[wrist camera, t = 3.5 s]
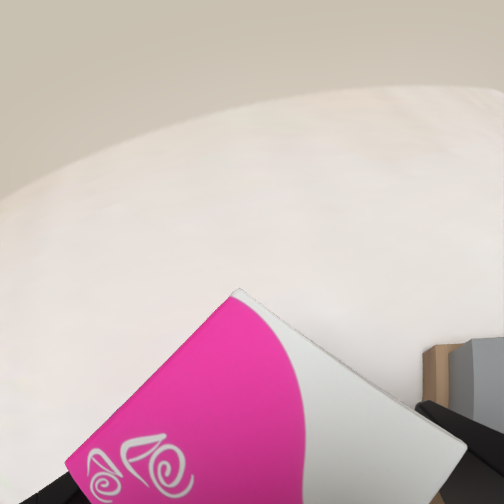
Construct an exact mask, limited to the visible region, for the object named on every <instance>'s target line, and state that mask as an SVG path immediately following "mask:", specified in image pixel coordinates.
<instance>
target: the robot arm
mask: <svg viewBox="0 0 504 504" xmlns="http://www.w3.org/2000/svg"><path fill="white" fill-rule="evenodd" d="M414 411H416V412H418V413H419V414H421V415H422V416H424V417H425V418H427V419H428V420H430V421H432V422H433V423H435V424H436V425H438V426H440V427H441V428H443V429H444V430H446V431H447V432H449V433H450V434H452V435H453V436H455V437H456V438H458V439H460V440H462V441H463V442H464V443H465V444H466V445H467V450H466V452H465V453H464V455H463V456H462V458H461V459H460V461H459V462H458V464H457V465H456V467H455V468H454V470H453V471H452V473H451V474H450V476H449V477H448V479H447V480H446V482H445V483H444V484H443V486H442V487H441V488H440V489H439V493H440V495H441V497H442V499H443V502H444V504H504V433H501V432H499V431H497V430H494V429H492V428H490V427H488V426H485V425H483V424H481V423H479V422H476V421H474V420H472V419H470V418H467V417H465V416H463V415H461V414H459V413H457V412H455V411H452V410H450V409H448V408H446V407H444V406H442V405H440V404H438V403H436V402H433V401H431V400H424V401H422V402H419V403H417V404H416V406H415V410H414ZM19 504H92V503H91V502H90V501H89V499H88V498H87V497H86V495H85V494H84V493H83V492H82V490H81V489H80V487H79V486H78V484H77V483H76V482H75V480H74V479H73V477H72V475H71V474H70V472H69V471H68V472H66V473H65V474H64V475H62V476H61V477H59V478H58V479H56V480H55V481H53V482H52V483H51V484H49V485H48V486H46V487H45V488H43V489H42V490H40V491H39V492H38V493H35V494H34V495H32V496H31V497H29V498H28V499H26V500H24V501H23V502H21V503H19Z"/></svg>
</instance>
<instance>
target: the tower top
mask: <svg viewBox="0 0 504 504" xmlns="http://www.w3.org/2000/svg"><path fill="white" fill-rule="evenodd" d="M449 409H450V410H452V411H455V412H457V413H459V414H461V415H463V416H465V417H467V418H470V419H472V420H474V421H476V422H479V423H481V424H483V425H485V426H488V427H490V428H492V429H494V430H497V431H499V432H501V433H504V337H497V338H481V339H471V340H469V341H468V342H466V343H465V344H463V345H462V346H460V347H459V348H457V349H456V350H454V351H452V352H451V353H449Z"/></svg>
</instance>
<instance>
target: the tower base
mask: <svg viewBox="0 0 504 504" xmlns="http://www.w3.org/2000/svg"><path fill="white" fill-rule="evenodd" d="M462 345H463V344H447V345H435V346H433V347H432V348H430V349H429V350H428V351H426V352H425V353H423V398H422V401H424V400H431V401H433V402H436V403H438V404H440V405H442V406H444V407H446V408H448V409H449V353H451V352H452V351H454V350H456V349H457V348H459V347H460V346H462ZM429 504H444V502H443V499H442V497H441V495H440V493H439V491H438V492H437V493H436V495H435V496H434V498H433V499H432V500H431V502H430V503H429Z"/></svg>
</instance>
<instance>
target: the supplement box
mask: <svg viewBox="0 0 504 504" xmlns="http://www.w3.org/2000/svg"><path fill="white" fill-rule="evenodd" d="M466 450H467V445H466V444H465V443H464V442H463V441H462V440H460V439H458V438H456V437H455V436H453V435H452V434H450V433H449V432H447V431H446V430H444V429H443V428H441V427H440V426H438V425H436V424H435V423H433V422H432V421H430V420H428V419H427V418H425V417H424V416H422V415H421V414H419V413H418V412H416V411H414V410H413V409H411V408H410V407H408V406H407V405H405V404H404V403H402V402H401V401H399V400H398V399H396V398H395V397H393V396H392V395H390V394H389V393H387V392H385V391H384V390H382V389H381V388H379V387H378V386H376V385H375V384H373V383H372V382H370V381H369V380H367V379H366V378H364V377H363V376H361V375H360V374H359V373H357V372H356V371H354V370H353V369H351V368H350V367H348V366H347V365H346V364H344V363H343V362H341V361H340V360H338V359H337V358H335V357H334V356H333V355H331V354H330V353H328V352H327V351H325V350H324V349H322V348H321V347H320V346H318V345H317V344H315V343H314V342H312V341H311V340H309V339H308V338H307V337H305V336H304V335H302V334H301V333H300V332H298V331H297V330H295V329H294V328H292V327H291V326H290V325H288V324H287V323H286V322H284V321H283V320H282V319H280V318H279V317H278V316H276V315H275V314H274V313H272V312H271V311H270V310H269V309H267V308H266V307H265V306H263V305H262V304H261V303H259V302H258V301H256V300H255V299H254V298H252V297H251V296H250V295H249V294H248V293H247V292H245V291H244V290H243V289H240V288H239V289H237V290H235V291H234V292H233V293H232V294H231V295H230V296H229V297H228V299H227V300H226V301H225V302H224V303H222V304H221V305H220V306H219V307H218V308H217V309H216V310H215V311H214V312H213V313H212V314H211V315H210V316H209V318H208V319H207V320H206V321H205V322H204V323H203V324H202V325H201V326H200V327H199V328H198V329H197V330H196V331H195V332H194V333H193V334H192V335H191V336H190V337H189V338H188V339H187V340H186V341H185V342H184V343H183V344H182V345H181V346H180V347H179V348H178V349H177V350H176V351H175V353H174V354H173V355H172V356H171V357H170V358H169V359H168V360H167V361H166V362H165V363H164V364H163V365H162V366H161V367H160V368H159V369H158V370H157V371H156V372H155V373H154V374H153V375H152V376H151V377H150V378H149V379H148V380H147V381H146V382H145V383H144V384H143V385H142V386H141V387H140V388H139V389H138V390H137V391H136V392H135V393H134V394H133V395H132V396H131V397H130V398H129V399H128V400H127V401H126V402H125V403H124V404H123V405H122V406H121V407H120V408H118V409H117V410H116V411H115V412H114V414H113V415H112V416H111V417H110V418H109V419H108V420H107V421H106V422H105V423H104V424H103V425H102V426H101V427H100V428H99V429H97V430H96V431H95V432H94V433H93V434H92V435H91V436H90V437H89V438H88V439H87V440H86V441H85V442H84V443H83V444H82V445H81V446H80V447H79V448H78V449H77V450H76V451H75V452H74V453H73V454H72V455H71V456H70V457H69V458H68V459H67V460H66V461H65V465H66V467H67V469H68V471H69V472H70V474H71V475H72V477H73V479H74V480H75V482H76V483H77V484H78V486H79V487H80V489H81V490H82V492H83V493H84V494H85V495H86V497H87V498H88V499H89V501H90V502H91V503H92V504H429V503H430V502H431V500H432V499H433V498H434V496H435V495H436V493H437V492H438V491H439V489H440V488H441V487H442V486H443V484H444V483H445V482H446V480H447V479H448V477H449V476H450V474H451V473H452V471H453V470H454V468H455V467H456V465H457V464H458V462H459V461H460V459H461V458H462V456H463V455H464V453H465V452H466Z"/></svg>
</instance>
